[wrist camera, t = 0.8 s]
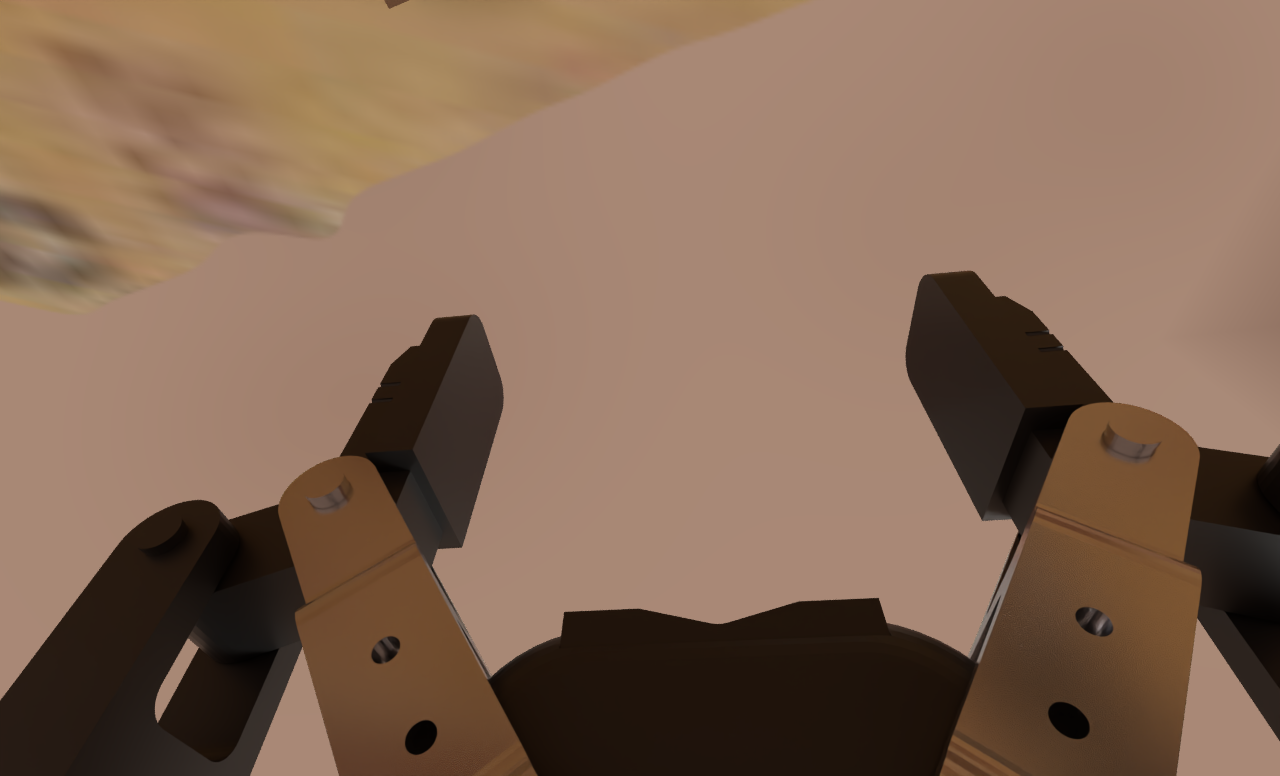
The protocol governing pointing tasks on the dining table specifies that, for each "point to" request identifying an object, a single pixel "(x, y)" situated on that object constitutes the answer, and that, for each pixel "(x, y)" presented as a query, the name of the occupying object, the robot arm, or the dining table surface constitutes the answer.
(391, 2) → the walnut stand
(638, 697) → the robot arm
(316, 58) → the dining table surface
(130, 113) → the dining table surface
